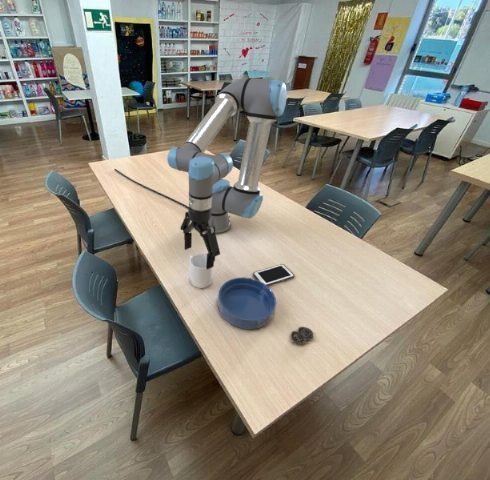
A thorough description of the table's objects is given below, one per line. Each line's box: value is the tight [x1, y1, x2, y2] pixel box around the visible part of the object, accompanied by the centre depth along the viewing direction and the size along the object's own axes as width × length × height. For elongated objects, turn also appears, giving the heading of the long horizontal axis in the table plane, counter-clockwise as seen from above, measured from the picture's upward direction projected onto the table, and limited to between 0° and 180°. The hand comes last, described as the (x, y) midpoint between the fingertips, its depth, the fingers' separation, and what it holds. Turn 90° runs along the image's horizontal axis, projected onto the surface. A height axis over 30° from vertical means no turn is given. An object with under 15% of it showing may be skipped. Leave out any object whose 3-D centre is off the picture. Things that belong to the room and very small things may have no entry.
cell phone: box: [252, 263, 295, 287], centre depth 110 cm, size 8×15×1 cm, turn 112°
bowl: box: [217, 276, 277, 330], centre depth 97 cm, size 19×19×5 cm
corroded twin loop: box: [290, 326, 314, 345], centre depth 88 cm, size 5×8×1 cm, turn 118°
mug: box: [188, 253, 214, 289], centre depth 107 cm, size 12×8×10 cm
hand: (198, 257), depth 103 cm, fingers open, 13 cm apart
